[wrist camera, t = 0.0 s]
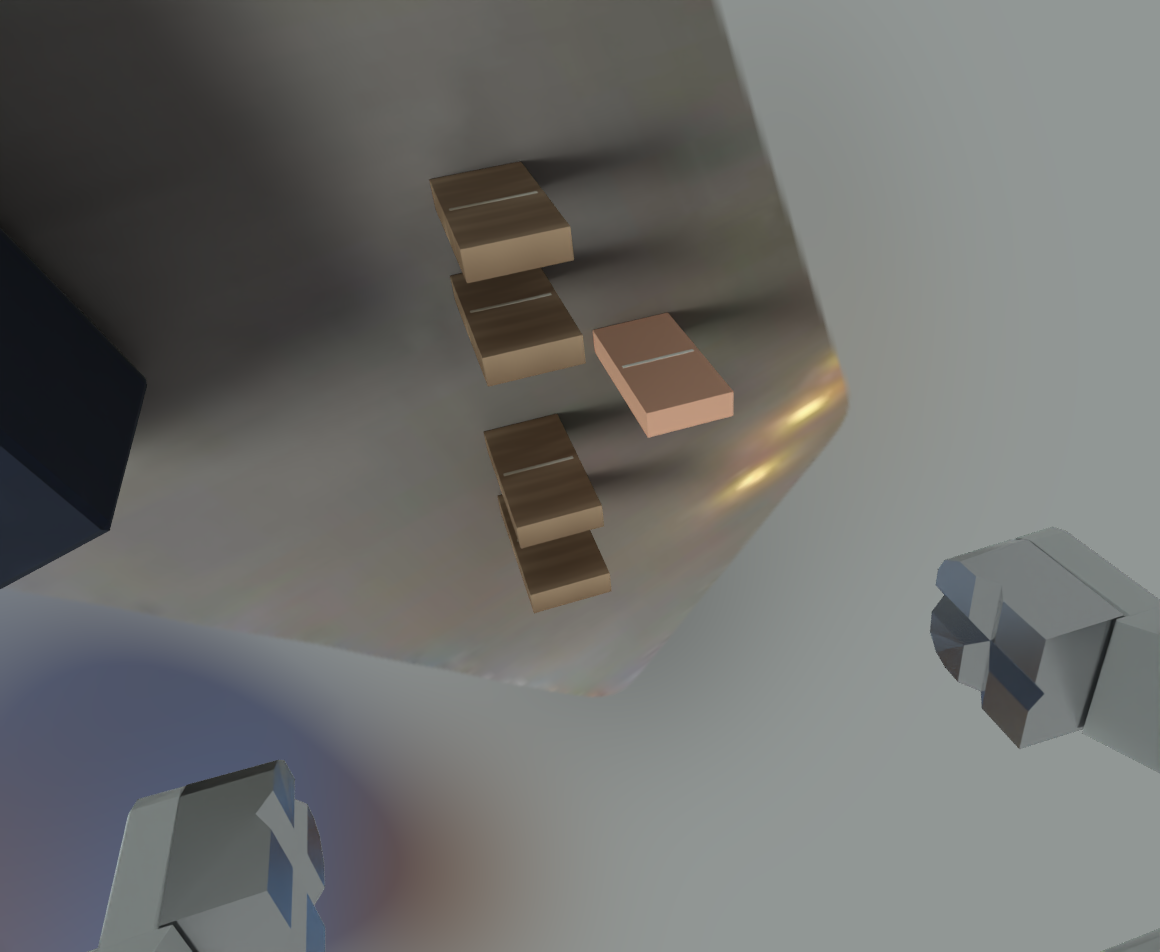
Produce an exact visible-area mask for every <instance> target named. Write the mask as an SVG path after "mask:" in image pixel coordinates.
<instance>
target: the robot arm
mask: <svg viewBox="0 0 1160 952" xmlns="http://www.w3.org/2000/svg"><path fill="white" fill-rule="evenodd" d="M936 586H937V587H938V588H939V589H940V590H941V591H942V593H943V594H944V596H943V597H942V599H941V600H940V601H939V603H938V604H937V606H936V607H935V608H934V609H933V611H932V615H931V626H930V633H931V636H932V640H933V643H934V647H935V650H936V653H937V655H938V656H939V658H940V659H941V661H942V663H943V665H944V666H945V668H946V669H947V670H948V671H949V672H950V674H952V676H953V677H954V678H955V679H956V680H957V681H958V682H959V683H962V684H964V685H967V686H969V687H971V688H974V689H976V690H979V691H981V704H982V709H983V710H984V711H985V712H986V713H987V715H989V717H990V718H991V719H992V720H993V721H994V722H995V723H996V724H997V725H998V726H999V728H1001V730H1002V731H1003V732H1004V733H1005V734H1006V735H1007V736H1008V737H1009V738H1010V740H1011V741H1012V742H1013V743H1014V744H1015V745H1016V746H1017V747H1018V748H1019V749H1021V748H1024V747H1027V746H1031V745H1034V744H1037V743H1040V742H1043V741H1047V740H1050V739H1053V738H1056V737H1059V736H1063V735H1066V734H1069V733H1072V732H1075V731H1079V730H1082V729H1083V731H1082V734H1085V735H1087V736H1088V737H1090V738H1092V739H1094V740H1096V741H1098V742H1100V743H1102V744H1104V745H1106V746H1108V747H1110V748H1112V749H1114V750H1116V751H1118V752H1120V753H1121V754H1123V755H1125V756H1128V757H1129V758H1132V759H1133V760H1135V761H1137V762H1139V763H1141V764H1143V765H1145V766H1147V767H1149V768H1151V769H1153V770H1155V771H1157V772H1159V773H1160V600H1159V599H1158V598H1157V597H1155V596H1154V595H1153V594H1151V593H1150V592H1149V591H1147V590H1146V589H1145V588H1143V587H1142V586H1141V585H1139V584H1138V583H1136V582H1135V581H1134V580H1132V579H1131V578H1130V577H1128V576H1127V575H1126V574H1124V573H1123V572H1121V571H1120V570H1119V569H1117V568H1116V567H1115V566H1113V565H1112V564H1111V563H1109V562H1108V561H1106V560H1105V559H1104V558H1102V557H1101V556H1099V555H1098V554H1097V553H1096V552H1094V551H1093V550H1092V549H1090V548H1089V547H1087V546H1086V545H1085V544H1083V543H1082V542H1081V541H1079V540H1077V538H1075V537H1074V536H1072V535H1071V534H1070V533H1068V532H1067V531H1065V530H1062V529H1059V528H1055V527H1050V528H1047V529H1044V530H1040V531H1037V532H1034V533H1031V534H1028V535H1024V536H1021V537H1018V538H1016V539H1013V540H1007V541H1004V542H1001V543H998V544H994V545H991V546H988V547H985V548H981V549H978V550H975V551H972V552H969V553H965V554H962V555H959V556H956V557H953V558H950V559H946V560H944V562H943V563H942V564H941V566H940V567H939V569H938V573H937V579H936ZM294 795H295V779H294V777H293V775H292V773H291V771H290V770H289V768H288V766H287V765H286V763H285V761H284V760H276V761H273V762H269V763H265V764H262V765H258V766H255V767H251V768H247V769H243V770H240V771H236V772H232V773H229V774H225V775H221V776H218V777H214V778H211V779H207V780H203V781H199V782H196V783H192V784H188V785H186V786H184V787H180V788H177V789H173V790H169V791H166V792H162V793H159V794H155V795H151V796H148V797H144V798H140V799H138V800H137V802H136V803H135V805H134V806H133V808H132V809H131V811H130V813H129V814H128V819H127V823H126V827H125V832H124V836H123V840H122V845H121V849H120V854H119V858H118V863H117V867H116V871H115V876H114V880H113V885H112V889H111V894H110V898H109V902H108V907H107V911H106V916H105V920H104V924H103V929H102V933H101V938H100V942H99V946H98V948H97V949H94V950H91V951H89V952H325V925H324V924H323V922H322V920H321V918H320V916H319V914H318V912H317V911H316V908H315V907H314V905H315V903H316V902H317V900H318V898H319V896H320V895H321V893H322V892H323V890H324V888H325V879H324V860H323V854H322V847H321V841H320V835H319V832H318V829H317V826H316V823H315V820H314V817H313V815H312V813H311V811H310V809H309V807H308V804H305V803H303V802H301V801H298V800H296V799H294V797H295V796H294ZM1101 952H1160V929H1157V930H1154V931H1152V932H1149V933H1147V934H1144V935H1142V936H1139V937H1137V938H1134V939H1131V940H1129V941H1126V942H1124V943H1122V944H1119V945H1117V946H1114V947H1111V948H1109V949H1106V950H1104V951H1101Z"/></svg>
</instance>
